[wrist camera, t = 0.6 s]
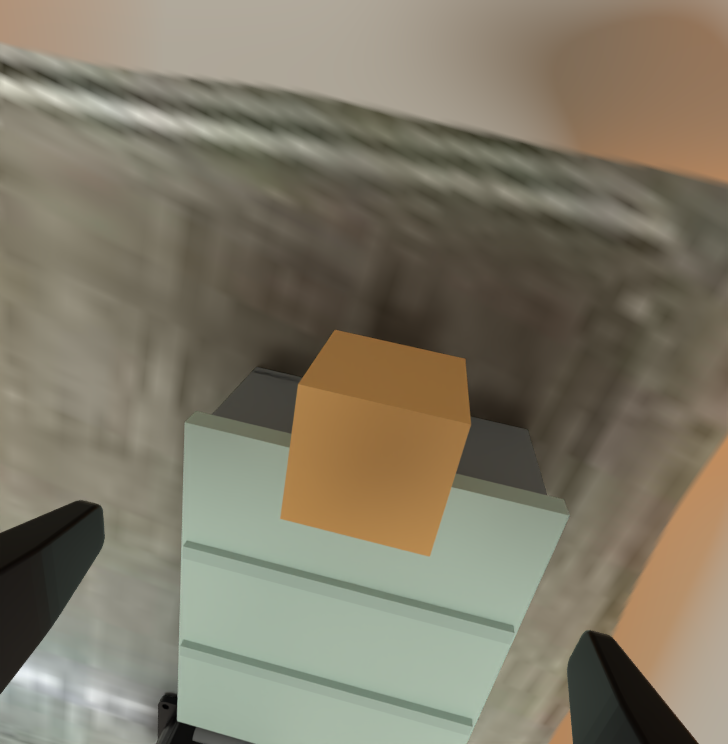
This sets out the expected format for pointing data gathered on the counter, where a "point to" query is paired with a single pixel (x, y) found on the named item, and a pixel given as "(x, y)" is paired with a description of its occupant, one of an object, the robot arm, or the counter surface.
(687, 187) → the counter surface
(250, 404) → the parts tub
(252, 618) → the lid
